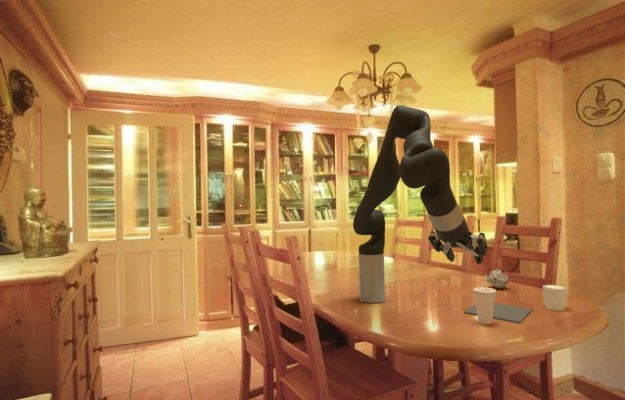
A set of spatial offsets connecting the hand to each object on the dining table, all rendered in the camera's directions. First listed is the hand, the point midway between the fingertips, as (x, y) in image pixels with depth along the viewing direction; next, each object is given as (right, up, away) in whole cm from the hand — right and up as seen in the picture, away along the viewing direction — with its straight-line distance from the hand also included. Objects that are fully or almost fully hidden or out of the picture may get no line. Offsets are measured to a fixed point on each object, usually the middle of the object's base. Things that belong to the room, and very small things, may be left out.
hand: (465, 260), depth 98 cm
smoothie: (+10, -20, +11) cm, 25 cm away
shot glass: (+39, -20, +22) cm, 49 cm away
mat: (+19, -20, +20) cm, 34 cm away
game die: (+34, -20, +50) cm, 63 cm away
